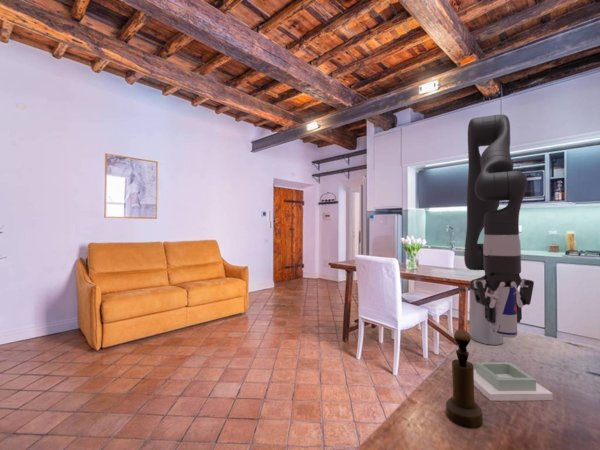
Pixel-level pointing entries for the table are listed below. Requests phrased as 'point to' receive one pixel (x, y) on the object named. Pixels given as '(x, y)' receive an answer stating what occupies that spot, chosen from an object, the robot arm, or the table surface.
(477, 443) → the table surface
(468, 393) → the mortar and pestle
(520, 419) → the table surface
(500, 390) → the baseplate
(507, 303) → the energy drink
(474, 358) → the table surface
